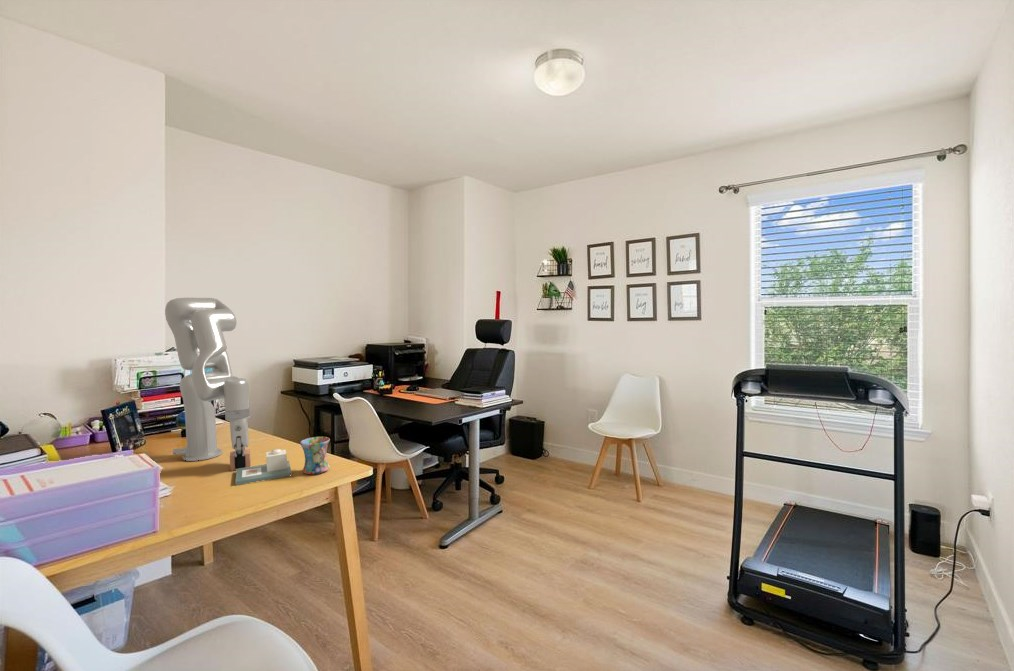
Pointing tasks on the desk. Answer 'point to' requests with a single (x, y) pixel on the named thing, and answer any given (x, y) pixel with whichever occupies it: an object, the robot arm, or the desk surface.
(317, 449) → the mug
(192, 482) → the desk surface
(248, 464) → the terracotta brick
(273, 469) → the baseplate
